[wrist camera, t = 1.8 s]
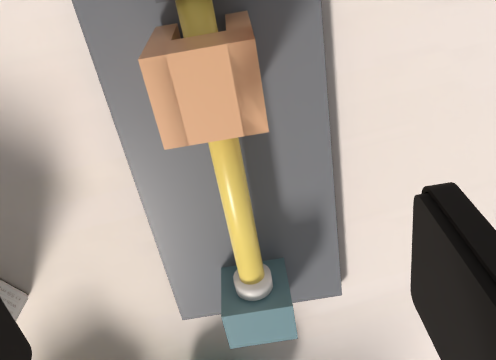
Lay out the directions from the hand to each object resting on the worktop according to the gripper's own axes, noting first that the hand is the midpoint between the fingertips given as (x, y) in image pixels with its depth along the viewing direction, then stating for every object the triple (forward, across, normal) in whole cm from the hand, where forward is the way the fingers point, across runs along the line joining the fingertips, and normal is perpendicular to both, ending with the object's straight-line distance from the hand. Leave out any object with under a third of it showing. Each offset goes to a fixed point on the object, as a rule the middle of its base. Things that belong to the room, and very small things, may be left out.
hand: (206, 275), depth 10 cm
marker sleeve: (+16, 0, 0) cm, 16 cm away
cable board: (+17, 0, +6) cm, 18 cm away
